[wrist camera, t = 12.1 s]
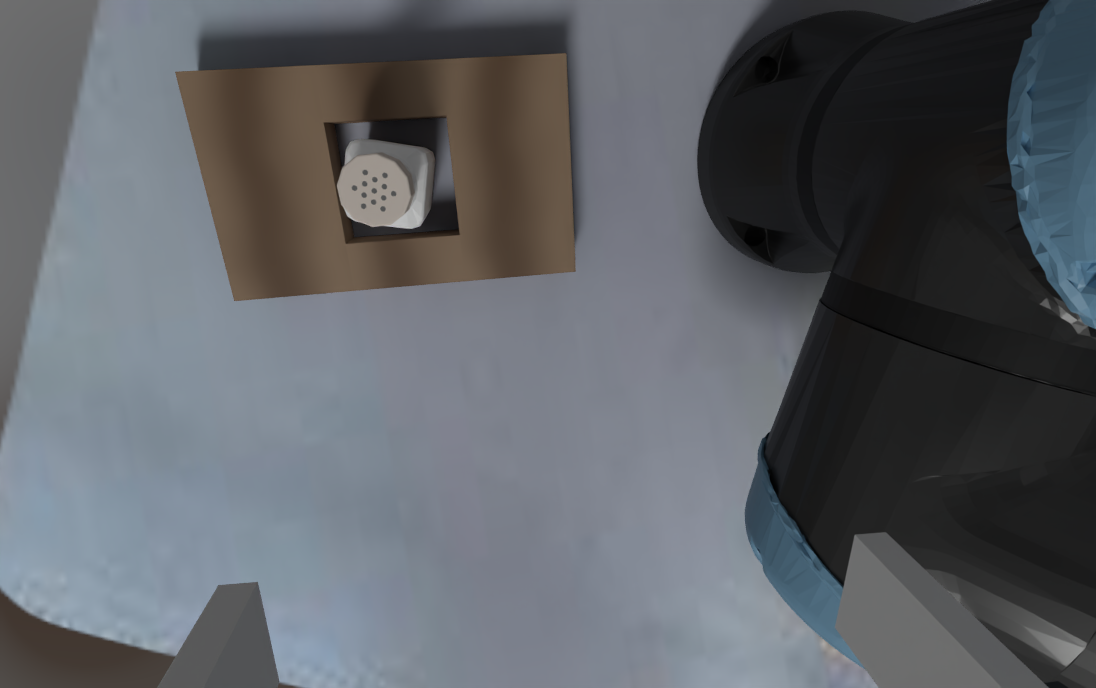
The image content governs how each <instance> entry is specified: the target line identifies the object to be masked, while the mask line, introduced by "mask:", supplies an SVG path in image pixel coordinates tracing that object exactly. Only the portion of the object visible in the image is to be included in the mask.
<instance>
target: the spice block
mask: <svg viewBox="0 0 1096 688" xmlns="http://www.w3.org/2000/svg"><path fill="white" fill-rule="evenodd" d="M175 73H176V77H177V81H178V85H179V89H180V92H181V96H182V100H183V104H184V108H185V112H186V116H187V120H188V123H189V127H190V131H191V135H192V139H193V143H194V147H195V150H196V154H197V158H198V162H199V166H200V170H201V174H202V178H203V181H204V185H205V189H206V193H207V197H208V201H209V205H210V208H211V212H212V216H213V220H214V224H215V228H216V232H217V236H218V239H219V243H220V247H221V251H222V255H223V259H224V263H225V267H226V270H227V274H228V278H229V282H230V286H231V290H232V294H233V297H234V301H241V300H252V299H264V298H275V297H287V296H298V295H310V294H322V293H333V292H345V291H356V290H368V289H379V288H391V287H402V286H414V285H426V284H437V283H449V282H460V281H472V280H483V279H495V278H506V277H518V276H530V275H541V274H553V273H564V272H576V270H575V246H574V223H573V199H572V176H571V153H570V129H569V106H568V83H567V59H566V53H561V54H540V55H519V56H498V57H477V58H456V59H435V60H414V61H393V62H371V63H350V64H329V65H308V66H287V67H266V68H245V69H224V70H203V71H182V72H175ZM446 117H447V126H448V135H449V143H450V152H451V161H452V170H453V179H454V188H455V197H456V206H457V215H458V224H459V229H455V230H443V231H430V232H417V233H404V234H391V235H378V236H365V237H354V233H353V228H352V222H351V218H349V217H347V214H346V212H345V210H344V207H343V206H342V205H341V202H340V197H339V193H338V189H337V183H338V180H339V177H340V173H341V170H342V165H341V159H340V154H339V148H338V142H337V137H336V131H335V125H334V124H342V123H359V122H377V121H394V120H411V119H429V118H446Z"/></svg>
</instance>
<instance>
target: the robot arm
mask: <svg viewBox="0 0 1096 688" xmlns="http://www.w3.org/2000/svg"><path fill="white" fill-rule="evenodd" d="M698 179H699V186H700V190H701V195H702V198H703V201H704V204H705V207H706V209H707V212H708V214H709V216H710V218H711V220H712V222H713V223H714V225H715V226H716V228H717V229H718V231H719V232H720V233H721V235H722V236H723V237H724V238H725V239H726V240H727V241H728V242H729V243H730V244H731V245H732V246H733V247H734V248H736V249H737V250H738V251H740V252H741V253H743V254H745V255H746V256H748V257H750V258H752V259H754V260H756V261H759V262H761V263H764V264H766V265H769V266H772V267H774V268H777V269H781V270H785V271H790V272H799V273H819V272H827V271H831V274H830V276H829V279H828V282H827V284H826V287H825V290H824V292H823V295H822V297H821V299H820V300H819V303H818V305H817V308H816V311H815V314H814V316H813V319H812V322H811V324H810V327H809V330H808V333H807V335H806V338H805V341H804V343H803V346H802V349H801V352H800V354H799V357H798V360H797V362H796V365H795V368H794V370H793V373H792V376H791V379H790V381H789V384H788V387H787V389H786V392H785V395H784V398H783V400H782V403H781V406H780V408H779V411H778V414H777V416H776V419H775V421H774V424H773V426H772V429H771V431H770V432H769V433H768V434H767V435H766V436H765V437H764V438H763V439H762V441H761V443H760V446H759V449H758V465H757V469H756V472H755V475H754V478H753V482H752V485H751V488H750V491H749V495H748V498H747V502H746V507H745V525H746V532H747V536H748V540H749V542H750V545H751V547H752V549H753V552H754V554H755V556H756V557H757V559H758V560H759V561H760V562H761V564H762V565H763V571H764V573H765V575H766V577H767V578H768V580H769V581H770V583H771V584H772V585H773V587H774V588H775V589H776V591H777V592H778V593H779V595H780V596H781V597H782V598H783V600H784V601H785V602H786V603H787V604H788V605H789V606H790V608H791V609H792V610H793V611H794V612H795V613H796V614H797V615H798V616H799V617H800V618H801V619H802V620H803V621H804V622H805V623H806V624H807V625H808V626H809V627H810V628H811V629H812V630H814V631H815V632H816V633H817V634H818V635H819V636H820V637H822V638H823V639H824V640H825V641H826V642H828V643H829V644H830V645H831V646H833V647H834V648H835V649H837V650H838V651H839V652H840V653H842V654H843V655H845V656H846V657H847V658H849V659H850V660H852V661H853V662H855V663H856V664H858V665H859V666H861V667H862V668H864V669H865V670H866V671H867V672H868V673H869V675H870V676H871V677H872V679H873V680H874V682H875V683H876V684H877V686H878V687H879V688H1096V0H992V1H988V2H985V3H981V4H978V5H974V6H971V7H967V8H964V9H960V10H957V11H953V12H950V13H946V14H943V15H939V16H936V17H932V18H928V19H925V20H922V21H919V22H916V23H911V22H907V21H903V20H899V19H895V18H891V17H886V16H882V15H878V14H874V13H869V12H864V11H836V12H829V13H823V14H819V15H816V16H812V17H809V18H807V19H804V20H801V21H798V22H796V23H793V24H790V25H788V26H785V27H783V28H781V29H779V30H777V31H775V32H773V33H771V34H770V35H768V36H767V37H765V38H764V39H762V40H761V41H759V42H758V43H757V44H755V45H754V46H753V47H752V48H751V49H749V50H748V51H747V52H746V53H745V54H744V55H743V56H742V57H741V58H740V59H739V60H738V61H737V62H736V64H735V65H734V66H733V67H732V68H731V70H730V71H729V72H728V74H727V75H726V76H725V78H724V79H723V81H722V82H721V84H720V86H719V87H718V89H717V91H716V93H715V95H714V97H713V99H712V101H711V103H710V105H709V108H708V110H707V113H706V116H705V119H704V122H703V126H702V130H701V134H700V139H699V147H698ZM278 684H279V678H278V673H277V669H276V664H275V659H274V655H273V650H272V645H271V641H270V636H269V632H268V627H267V622H266V618H265V613H264V608H263V604H262V599H261V595H260V590H259V585H258V582H253V583H240V584H228V585H218V587H217V589H216V590H215V592H214V594H213V595H212V597H211V599H210V600H209V602H208V604H207V605H206V607H205V609H204V610H203V612H202V614H201V615H200V617H199V619H198V620H197V622H196V624H195V625H194V627H193V629H192V630H191V632H190V634H189V635H188V637H187V639H186V640H185V642H184V644H183V645H182V647H181V649H180V650H179V652H178V654H177V655H176V657H175V659H174V661H173V662H172V664H171V666H170V667H169V669H168V671H167V672H166V674H165V676H164V677H163V679H162V681H161V682H160V684H159V686H158V687H157V688H277V687H278Z"/></svg>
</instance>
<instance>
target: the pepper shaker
mask: <svg viewBox="0 0 1096 688" xmlns="http://www.w3.org/2000/svg"><path fill="white" fill-rule="evenodd" d="M434 169H435V157H434V154H433V152H432V151H431V150H429V149H427V148H425V147H419V146H413V145H406V144H400V143H394V142H387V141H381V140H370V139H357V140H354V141H350V143H349V145H348V147H347V148H346V153H345V165H344V166H343V167H342V170H341V173H340V177H339V180H338V183H337V189H338V193H339V197H340V202H341V205H342V206H343V207H344V210H345V212H346V214H347V217H349V218H351V219H352V220H354V221H356V222H361V223H364V224H366V225H369V226H371V227H377V226H389V227H397V228H408V229H413V228H416V227H419V226H421V224H422V223H423V221H424V220H425V218H426V217H427V215H428V213H429V211H430V209H431V204H432V193H433V181H434Z"/></svg>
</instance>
